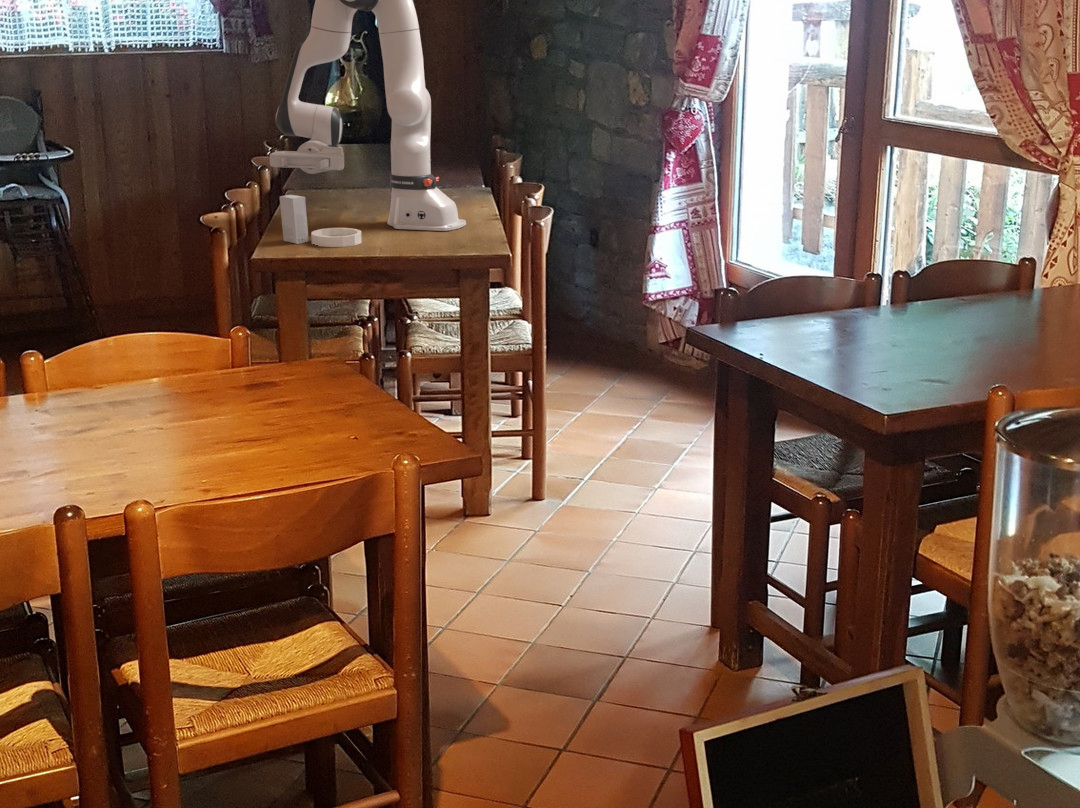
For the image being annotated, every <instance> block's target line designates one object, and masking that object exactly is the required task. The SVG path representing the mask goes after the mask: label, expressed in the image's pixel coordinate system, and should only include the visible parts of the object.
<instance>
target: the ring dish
mask: <svg viewBox="0 0 1080 808" xmlns="http://www.w3.org/2000/svg"><path fill="white" fill-rule="evenodd" d="M310 235H311V244H312V245H313V244H315V245H314V246H316V245H318V246H317V247H322V248H323V247H324V248H345V247H346V248H347V247H352V246H357V245H359V244H362V243H363V242H362V241H363V238H362V230H360V229H357V228H351V227H350V228H349V227H327V228H318V229H316V230H313V231H311V234H310Z"/></svg>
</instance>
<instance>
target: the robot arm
mask: <svg viewBox="0 0 1080 808" xmlns="http://www.w3.org/2000/svg"><path fill="white" fill-rule="evenodd" d="M314 1H315V2H314V5H313V9H312V16H311V22H310V23H311V24H310V29H309V34H308V36H307V37H306V39H305V41H303V42H299V44H298V45H297V46H296V48H295V51H294V53H293V56H292V60H291V63H290V65H289V66H290V67H289V71H288V75H287V78H286V82H285V85H284V89H283V93H282V97H281V100H280V102H279V106H278V107H277V111H276V113H275V125H276V127H277V129H278V130H279V131H280V132H281V133H282V135H284V136H289V137H302V138H307V139H309V140H307V141H305V142H304V143H302V144H300V146H299V147H298V148H297V150H296V151H294V150H293V151H292V150H278V151H274V152H272V153H269V165H270V167H272V168H290V169H291V168H292V169H294V168H297V169H301V171H303V172H304V173H306V174H309V175H310V174H311V175H312V174H313V175H315V174H319V173H324V172H330V171H333V172H334V171H342V170H344V168H345V152H344V148H343V146H338V145H339V144H340V143H341V141H342V138H343V132H344V119H343V117H342V116H341V113H340V112H339V110H338V109H337V108H336V107H335V106H329V105H325V104H316V103H312V102H311V103H309V102H306V101H305V102H304V101H301V100H300V98H299V95H300V93H301V89H302V84H303V81H304V78H305V74H306V73H307V71H308V69H310V68H311V67H314V66H317V65H321V64H326V63H327V64H328V63H331V62H334V61H337V60H339V59H340V58H343V56H345V55H346V53H347V52H348V50H349V48H350V44H351V36H352V28H353V27H352V26H353V19H354V16H355V13H356V12H357V11H358V10H359V11H363V12H364V11H365V12H370V11H371V12H372V13H373V14H374V16H375V19H376V21H377V22H376V23H377V28H378V29H377V30H378V35H379V43H380V49H381V50H380V51H381V56H382V57H381V58H382V63H383V79H384V80H383V81H384V90H385V99H386V100H385V101H386V109H387V113H388V116H389V117H390V119H391V133H390V134H391V138H390V164H391V165H390V167H391V168H390V169H391V173H390V174H389V185H390V186H389V187H390V188H389V189H390V193H391V194H390V195H391V196H390V198H391V199H390V200H391V201H390V208H389V214H388V219H387V226H391V227H393V229H395V230H412V231H413V230H417V231H435V232H437V231H438V232H446V231H447V232H448V231H454V230H459V229H460V228H463V227H465V226H466V225H467V221H466V220H465V219H461V218H459V213H458V208H457V205H456V202H455V201H454V200H453V199H451V198H450V197H449V196H447V194H445V193H444V192H443V191H442V190H440V189H439V188H438V187H437V182H439V181H440V180H439V179H440V176H437V177H435V176H434V175H433V173H431V169H432V168H431V132H432V131H431V129H432V127H431V126H432V99H431V95H430V93H429V90H428V89H427V88H426V80H425V69H424V67H425V66H424V65H425V64H424V55H423V47H422V40H421V33H420V31H421V30H420V25H419V21H418V15H417V11H416V8H415V3H414V0H314Z"/></svg>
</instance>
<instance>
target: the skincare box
mask: <svg viewBox="0 0 1080 808" xmlns="http://www.w3.org/2000/svg"><path fill="white" fill-rule="evenodd" d="M279 207H280V215H281V227H282V238H283V242H287V243H292V244H297V245H298V244H299V245H301V244H305V242H306V243H308V242H309V229H308V218H307V207H306V197H305V196H300V195H296V194H286V195H280V196H279Z"/></svg>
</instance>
